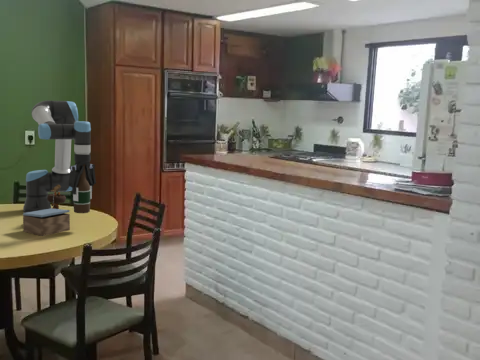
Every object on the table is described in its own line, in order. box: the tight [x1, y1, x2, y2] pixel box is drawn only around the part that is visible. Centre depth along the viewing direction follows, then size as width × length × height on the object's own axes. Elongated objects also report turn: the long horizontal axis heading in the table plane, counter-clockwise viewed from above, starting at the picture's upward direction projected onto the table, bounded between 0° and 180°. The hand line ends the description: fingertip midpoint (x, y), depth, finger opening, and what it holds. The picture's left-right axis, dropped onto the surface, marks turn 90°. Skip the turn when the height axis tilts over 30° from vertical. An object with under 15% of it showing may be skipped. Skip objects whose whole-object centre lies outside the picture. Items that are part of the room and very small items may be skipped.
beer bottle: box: [73, 164, 91, 214], centre depth 245 cm, size 8×8×24 cm
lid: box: [22, 207, 71, 217], centre depth 244 cm, size 16×14×1 cm
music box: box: [47, 185, 67, 209], centre depth 263 cm, size 15×11×20 cm
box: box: [22, 213, 71, 237], centre depth 244 cm, size 16×14×8 cm
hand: (82, 199), depth 246 cm, fingers closed on beer bottle, 8 cm apart
